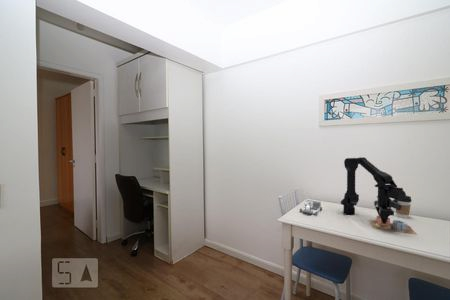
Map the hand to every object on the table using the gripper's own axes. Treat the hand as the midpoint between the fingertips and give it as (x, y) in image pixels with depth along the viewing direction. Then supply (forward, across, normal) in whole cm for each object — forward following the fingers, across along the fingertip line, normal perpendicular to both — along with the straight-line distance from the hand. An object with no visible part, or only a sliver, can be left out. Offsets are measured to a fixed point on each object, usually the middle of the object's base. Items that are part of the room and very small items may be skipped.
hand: (382, 221), depth 124 cm
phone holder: (+5, +13, +41) cm, 43 cm away
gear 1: (+1, 0, 0) cm, 1 cm away
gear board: (+4, 0, -4) cm, 6 cm away
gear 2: (+2, 0, -8) cm, 8 cm away
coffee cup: (+4, +23, -15) cm, 28 cm away
